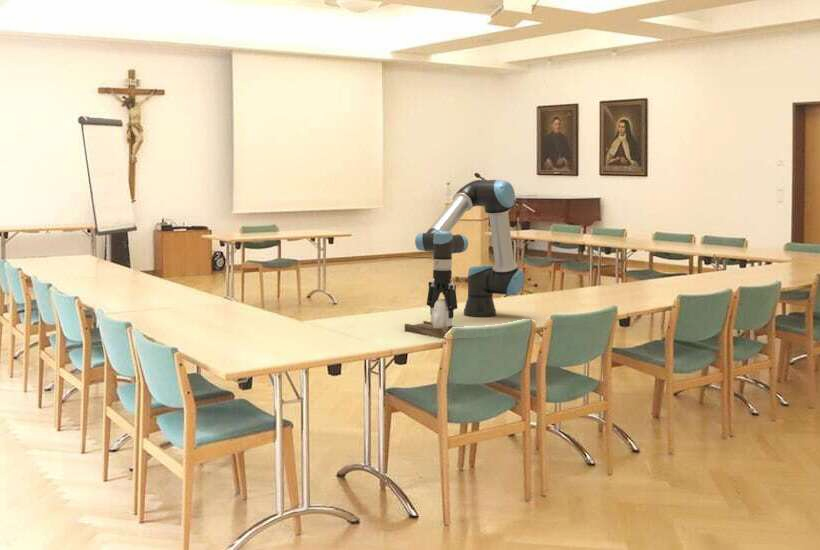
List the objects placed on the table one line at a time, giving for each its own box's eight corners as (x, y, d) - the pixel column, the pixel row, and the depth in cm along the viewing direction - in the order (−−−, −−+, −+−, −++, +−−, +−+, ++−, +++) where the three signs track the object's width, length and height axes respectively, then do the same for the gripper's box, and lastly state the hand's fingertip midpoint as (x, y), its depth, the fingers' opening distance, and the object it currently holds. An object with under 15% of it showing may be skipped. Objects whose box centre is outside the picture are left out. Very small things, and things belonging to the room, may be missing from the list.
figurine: (435, 329, 361) (435, 300, 360) (429, 326, 369) (430, 297, 367) (452, 328, 363) (452, 299, 362) (446, 325, 371) (446, 297, 369)
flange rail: (424, 327, 382) (424, 319, 381) (461, 335, 366) (461, 326, 365) (404, 330, 374) (404, 322, 374) (441, 338, 358) (441, 329, 357)
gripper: (418, 267, 368) (417, 322, 371) (454, 272, 353) (453, 329, 356) (431, 266, 373) (430, 320, 376) (467, 270, 358) (466, 327, 361)
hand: (441, 324), depth 366 cm, fingers closed on figurine, 8 cm apart
